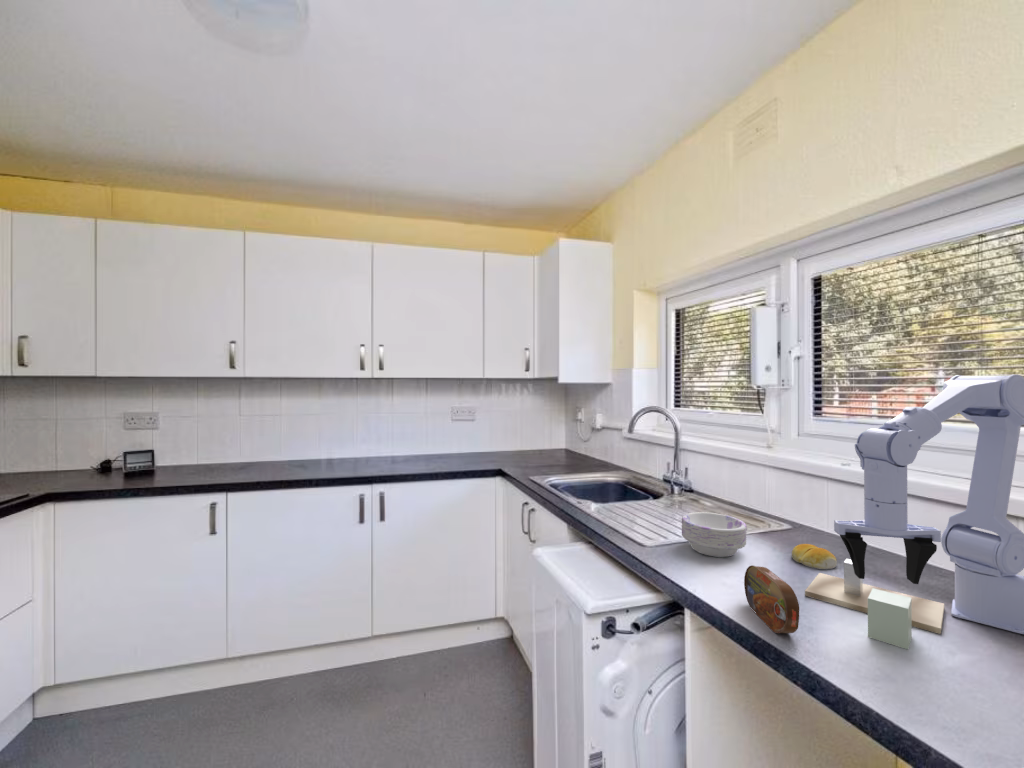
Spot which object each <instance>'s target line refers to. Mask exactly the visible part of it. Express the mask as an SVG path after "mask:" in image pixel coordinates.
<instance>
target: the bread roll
mask: <svg viewBox="0 0 1024 768" xmlns="http://www.w3.org/2000/svg"><path fill="white" fill-rule="evenodd" d="M791 557H792V560H793V561H794V562H797V563H799V564H802V565H803V566H804V567H808V568H813V569H818V570H831V569H834V568H836V566H837V565H838V564H837V563H838V561H837V560H838V559H837V557H836V556H835V555H834V554H833V553H832V552H831V551H830V550H828V549H825V548H823V547H818V546H816V545H815V544H811V543H810V544H809V543H800V544H798V545H795V546H794V547H793V548H792V551H791Z"/></svg>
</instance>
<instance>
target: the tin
mask: <svg viewBox="0 0 1024 768" xmlns="http://www.w3.org/2000/svg"><path fill="white" fill-rule="evenodd" d="M743 581H744V582H743V583H744V584H743V585H744V593H745V599H746V600H747V601H746V602H747V605H748V607H751V608H752V609H753V610H754V611H755V612H756V613H755V612H754V611H753V610H752V609H751V608H750V609H751V610H752V611H753V612H754V613H755V615H756V616H757V617H759V618H760V619H761V620H762V621H763V623H764V624H765V623H766V624H765V625H766V626H767V627H768V628H769V629H770V630H771V631H772V632H773V633H775V634H793V633H796V632H797V631H798V630H799V624H800V603H799V600H798V598H797V597H798V596H797V595H796V592H795V591H794V589H793V588H792V587H791V586H790V585H789V583H787V582H786V581H784V580H783V579H782V578H781V577H779V576H778V575H777V574H776V573H774V572H773V571H772V570H770V569H769V568H767V567H766V566H757V565H749V566H748V567H747V568H746V570H745V573H744V579H743Z"/></svg>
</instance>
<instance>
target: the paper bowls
mask: <svg viewBox="0 0 1024 768" xmlns="http://www.w3.org/2000/svg"><path fill="white" fill-rule="evenodd" d="M747 529H748V527H747V524H746V523H745V521H743V520H741V519H739V518H737V517H734V516H730V515H727V514H722V513H716V512H706V511H704V512H703V511H699V512H698V511H697V512H690V513H689V512H688V513H685V514H684V515H682V518H681V536H682V538H683V539H684V540H685V541H687V542H689V544H690V546H691V548H692V549H693V550H694V551H695V552H697V553H699V554H702V555H705V556H708V557H714V558H715V557H716V558H727V557H728V558H729V557H731V556H734V555H735V554H736V553H737V551H738V550H739V549H743V548H745V547H746V545H747V534H748V533H747Z"/></svg>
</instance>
